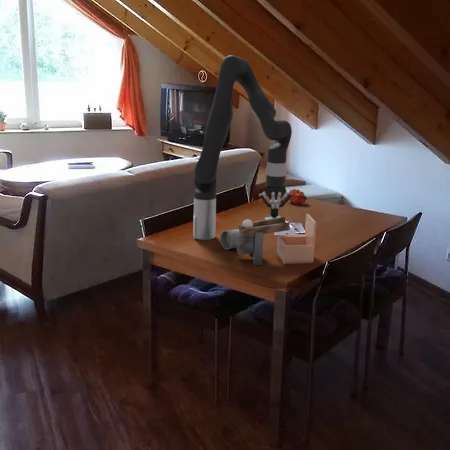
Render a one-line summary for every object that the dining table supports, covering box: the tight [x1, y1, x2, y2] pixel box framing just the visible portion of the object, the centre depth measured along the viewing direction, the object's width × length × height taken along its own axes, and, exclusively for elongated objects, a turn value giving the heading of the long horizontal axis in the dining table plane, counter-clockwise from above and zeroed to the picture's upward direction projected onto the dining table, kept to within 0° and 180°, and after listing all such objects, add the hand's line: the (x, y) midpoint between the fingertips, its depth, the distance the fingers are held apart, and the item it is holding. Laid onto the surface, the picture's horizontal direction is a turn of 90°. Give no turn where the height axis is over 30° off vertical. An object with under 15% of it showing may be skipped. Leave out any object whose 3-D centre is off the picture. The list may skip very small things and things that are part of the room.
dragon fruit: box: [288, 188, 308, 206], centre depth 293 cm, size 8×8×12 cm
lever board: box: [234, 215, 291, 256], centre depth 212 cm, size 20×16×10 cm
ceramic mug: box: [219, 228, 240, 250], centre depth 223 cm, size 11×8×8 cm
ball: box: [242, 218, 254, 229], centre depth 207 cm, size 4×4×4 cm
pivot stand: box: [248, 231, 264, 266], centre depth 209 cm, size 3×13×12 cm, turn 7°
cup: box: [276, 213, 317, 265], centre depth 211 cm, size 12×12×16 cm
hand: (274, 217), depth 216 cm, fingers closed
